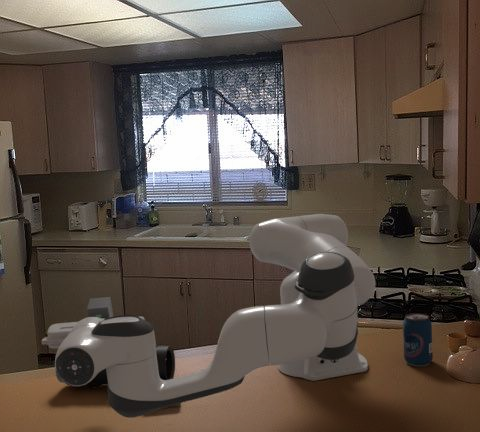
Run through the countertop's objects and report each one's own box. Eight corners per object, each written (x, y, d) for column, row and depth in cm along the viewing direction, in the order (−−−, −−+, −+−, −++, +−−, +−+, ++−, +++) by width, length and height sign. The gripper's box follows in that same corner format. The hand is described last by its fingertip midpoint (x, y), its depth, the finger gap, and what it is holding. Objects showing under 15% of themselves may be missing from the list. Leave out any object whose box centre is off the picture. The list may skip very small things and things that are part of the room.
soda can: (399, 364, 146) (397, 317, 145) (411, 355, 152) (409, 311, 150) (426, 369, 142) (424, 321, 141) (437, 360, 147) (435, 314, 146)
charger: (117, 340, 136) (110, 295, 131) (114, 353, 131) (107, 307, 126) (98, 342, 135) (90, 297, 131) (94, 355, 130) (86, 309, 126)
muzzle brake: (167, 394, 137) (163, 352, 136) (55, 395, 142) (51, 354, 140) (177, 379, 147) (173, 339, 146) (72, 380, 151) (68, 341, 150)
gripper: (40, 360, 117) (57, 339, 130) (142, 350, 118) (148, 331, 132) (37, 329, 116) (54, 311, 130) (140, 320, 117) (146, 304, 131)
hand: (102, 321), depth 131 cm, fingers closed on charger, 4 cm apart
